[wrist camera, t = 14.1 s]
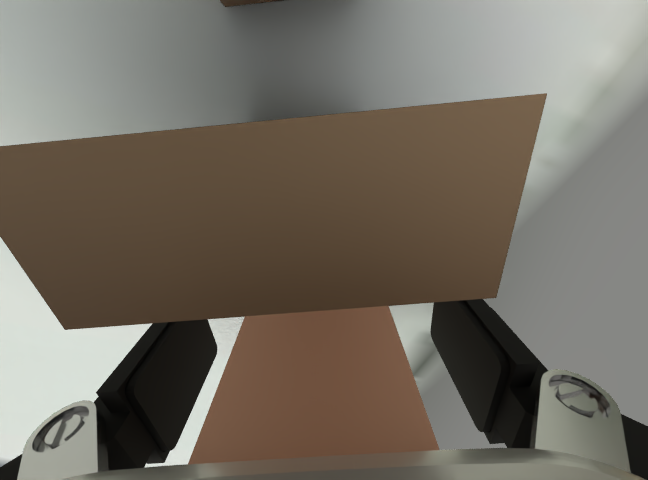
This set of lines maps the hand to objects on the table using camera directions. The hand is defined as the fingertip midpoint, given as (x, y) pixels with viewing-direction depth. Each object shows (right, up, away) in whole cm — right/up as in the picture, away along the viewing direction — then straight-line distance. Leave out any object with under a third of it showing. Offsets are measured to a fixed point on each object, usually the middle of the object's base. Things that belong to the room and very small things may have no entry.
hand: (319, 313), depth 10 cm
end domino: (0, +2, +4) cm, 4 cm away
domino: (-1, +7, +1) cm, 7 cm away
